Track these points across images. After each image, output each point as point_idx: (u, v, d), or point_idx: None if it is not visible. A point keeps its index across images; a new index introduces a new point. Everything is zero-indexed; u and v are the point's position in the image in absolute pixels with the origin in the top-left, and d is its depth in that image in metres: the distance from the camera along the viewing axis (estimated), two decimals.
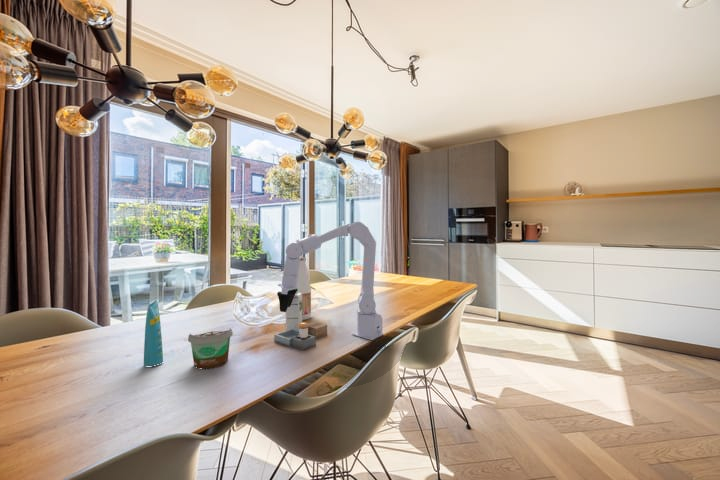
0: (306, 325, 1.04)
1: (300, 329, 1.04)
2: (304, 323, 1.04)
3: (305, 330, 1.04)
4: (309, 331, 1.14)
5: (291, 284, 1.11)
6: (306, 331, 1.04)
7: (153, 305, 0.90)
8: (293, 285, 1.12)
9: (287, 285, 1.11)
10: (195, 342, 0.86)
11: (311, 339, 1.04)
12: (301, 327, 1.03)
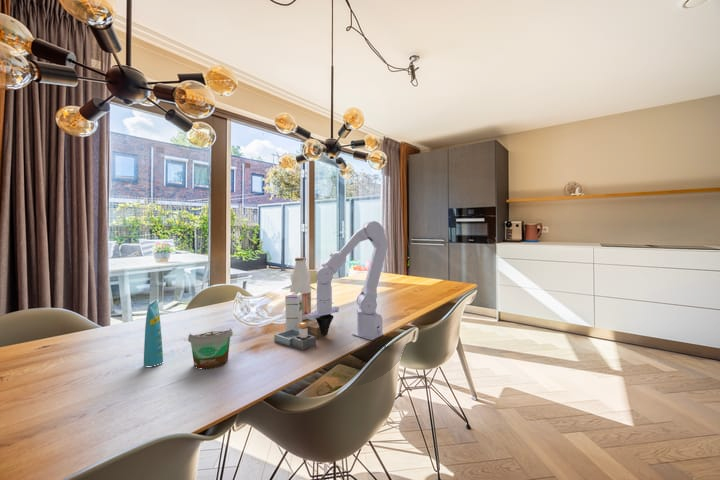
0: (306, 325, 1.04)
1: (300, 329, 1.04)
2: (304, 323, 1.04)
3: (305, 330, 1.04)
4: (309, 331, 1.14)
5: (322, 309, 1.10)
6: (306, 331, 1.04)
7: (153, 305, 0.90)
8: (324, 310, 1.10)
9: (318, 310, 1.11)
10: (195, 342, 0.86)
11: (311, 339, 1.04)
12: (301, 327, 1.03)
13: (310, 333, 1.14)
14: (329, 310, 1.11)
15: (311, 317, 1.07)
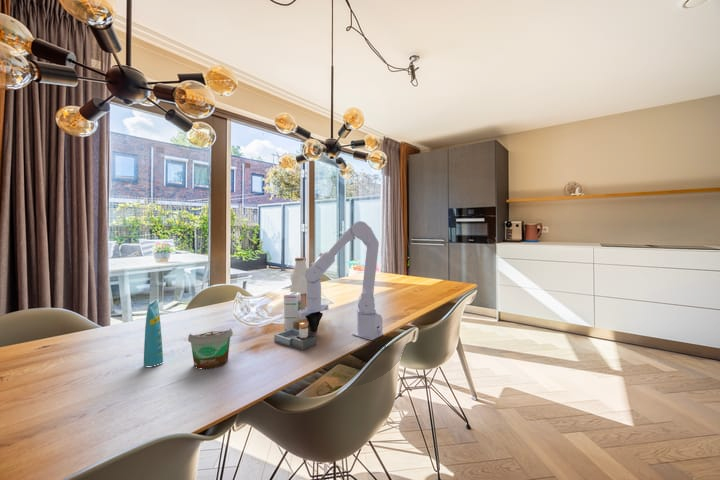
0: (306, 325, 1.04)
1: (300, 329, 1.04)
2: (304, 323, 1.04)
3: (305, 330, 1.04)
4: (298, 327, 1.18)
5: (311, 307, 1.14)
6: (306, 331, 1.04)
7: (153, 305, 0.90)
8: (313, 308, 1.14)
9: (308, 308, 1.14)
10: (195, 342, 0.86)
11: (311, 339, 1.04)
12: (301, 327, 1.03)
13: None
14: (318, 308, 1.15)
15: (300, 314, 1.10)
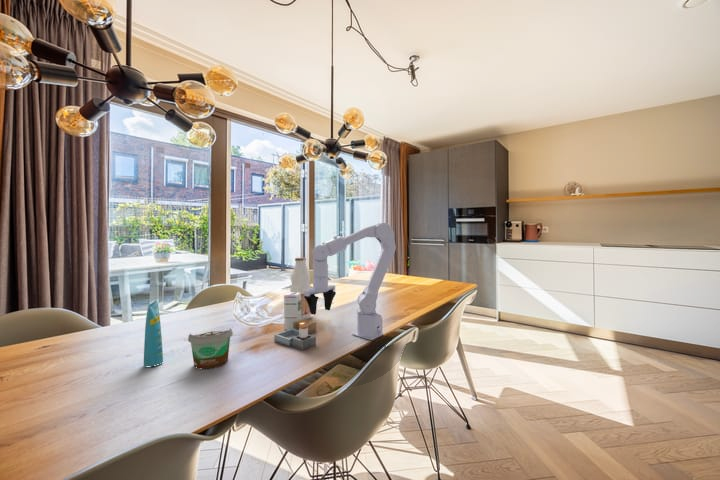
0: (306, 325, 1.04)
1: (300, 329, 1.04)
2: (304, 323, 1.04)
3: (305, 330, 1.04)
4: (298, 328, 1.18)
5: (318, 286, 1.11)
6: (306, 331, 1.04)
7: (153, 305, 0.90)
8: (320, 287, 1.11)
9: (314, 287, 1.12)
10: (195, 342, 0.86)
11: (311, 339, 1.04)
12: (301, 327, 1.03)
13: None
14: (325, 287, 1.12)
15: (307, 293, 1.08)
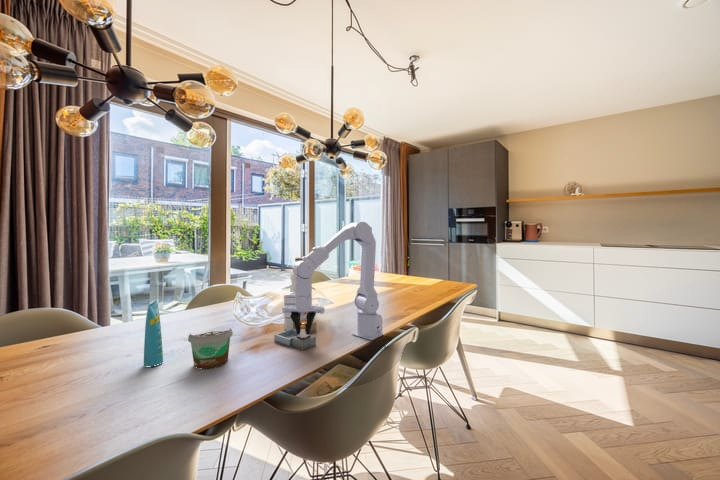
0: (306, 325, 1.04)
1: (300, 329, 1.04)
2: (304, 323, 1.04)
3: (305, 330, 1.04)
4: None
5: (295, 305, 1.03)
6: (306, 331, 1.04)
7: (153, 305, 0.90)
8: (296, 306, 1.03)
9: None
10: (195, 342, 0.86)
11: (311, 339, 1.04)
12: (301, 327, 1.03)
13: None
14: (301, 307, 1.02)
15: None
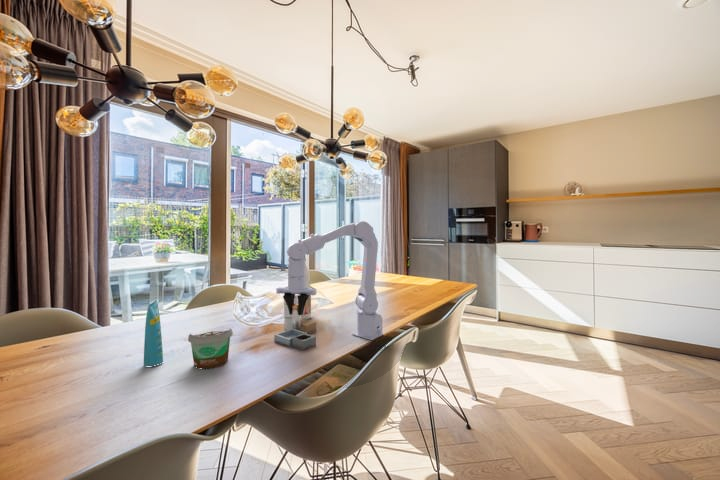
0: (298, 306, 1.06)
1: (292, 310, 1.06)
2: (296, 304, 1.07)
3: (297, 311, 1.06)
4: (299, 328, 1.17)
5: (288, 286, 1.06)
6: (298, 312, 1.06)
7: (153, 305, 0.90)
8: (288, 287, 1.05)
9: None
10: (195, 342, 0.86)
11: (311, 339, 1.04)
12: (293, 308, 1.06)
13: (300, 330, 1.17)
14: (292, 288, 1.04)
15: None
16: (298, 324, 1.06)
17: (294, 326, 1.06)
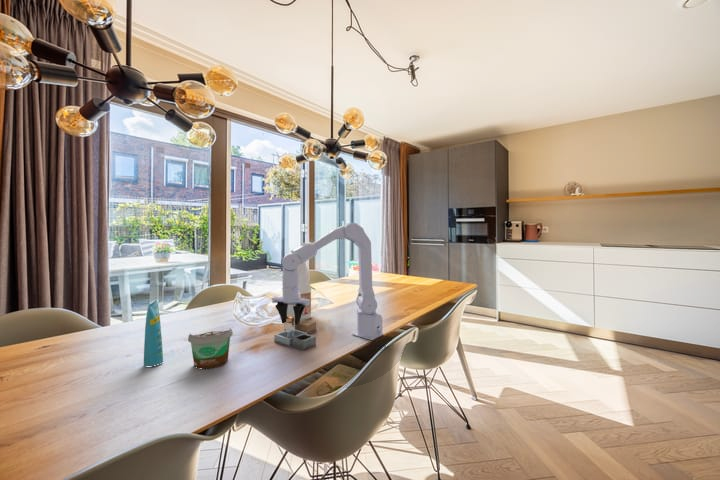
0: (292, 320, 1.08)
1: (286, 323, 1.08)
2: (290, 317, 1.09)
3: (291, 324, 1.08)
4: (299, 328, 1.17)
5: None
6: (292, 325, 1.08)
7: (153, 305, 0.90)
8: (282, 297, 1.08)
9: None
10: (195, 342, 0.86)
11: (311, 339, 1.04)
12: (287, 321, 1.08)
13: (300, 330, 1.17)
14: (286, 298, 1.07)
15: None
16: None
17: None
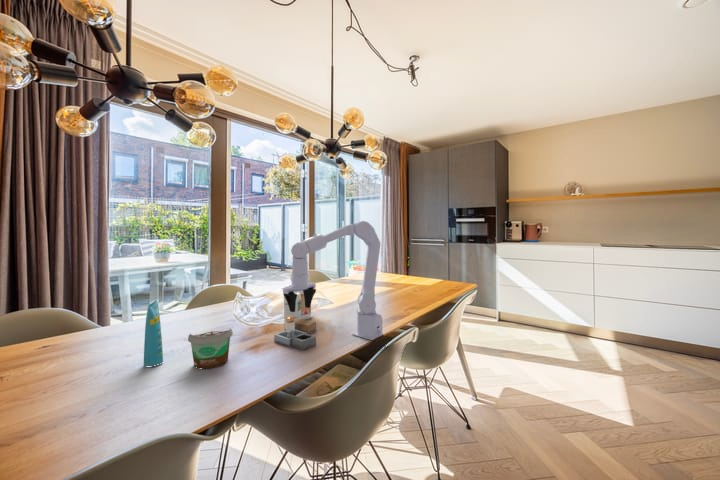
0: (292, 319, 1.08)
1: (286, 323, 1.09)
2: (290, 317, 1.09)
3: (291, 324, 1.08)
4: (300, 328, 1.17)
5: (297, 284, 1.11)
6: (292, 325, 1.08)
7: (153, 305, 0.90)
8: (299, 285, 1.11)
9: (294, 285, 1.11)
10: (195, 342, 0.86)
11: (311, 339, 1.04)
12: (287, 321, 1.08)
13: (301, 330, 1.17)
14: (304, 285, 1.12)
15: (285, 291, 1.08)
16: None
17: None
